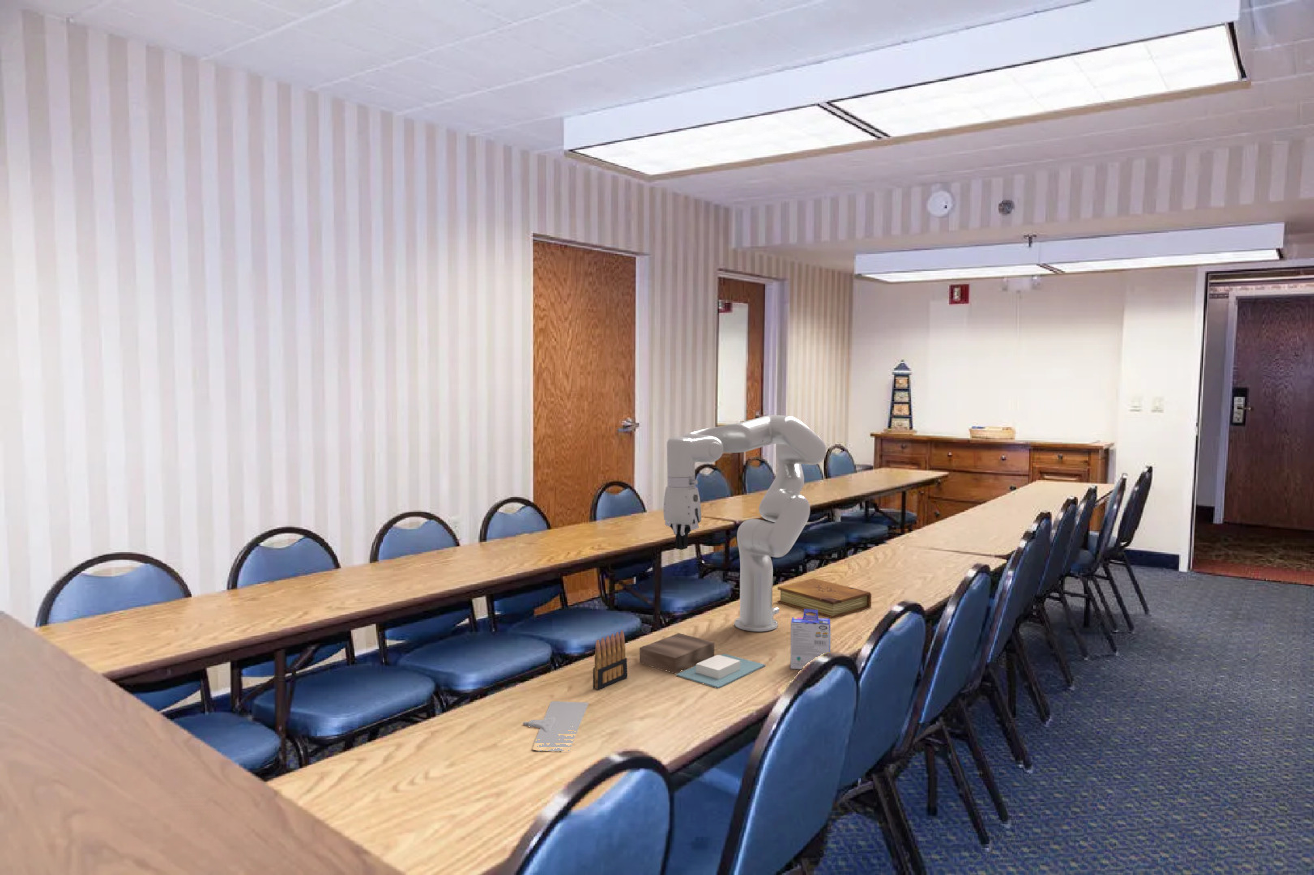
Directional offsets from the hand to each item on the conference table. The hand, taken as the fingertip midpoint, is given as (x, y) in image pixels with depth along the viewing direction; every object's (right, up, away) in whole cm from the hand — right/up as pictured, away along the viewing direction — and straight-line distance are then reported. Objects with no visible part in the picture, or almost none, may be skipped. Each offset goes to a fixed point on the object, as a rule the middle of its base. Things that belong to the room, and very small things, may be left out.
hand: (681, 548), depth 230 cm
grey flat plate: (-24, -31, -52) cm, 65 cm away
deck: (-2, -28, -12) cm, 30 cm away
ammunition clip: (-18, -29, -28) cm, 44 cm away
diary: (+47, -24, +40) cm, 66 cm away
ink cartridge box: (+32, -28, -17) cm, 46 cm away
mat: (+9, -28, -20) cm, 35 cm away
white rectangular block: (+8, -27, -21) cm, 35 cm away
